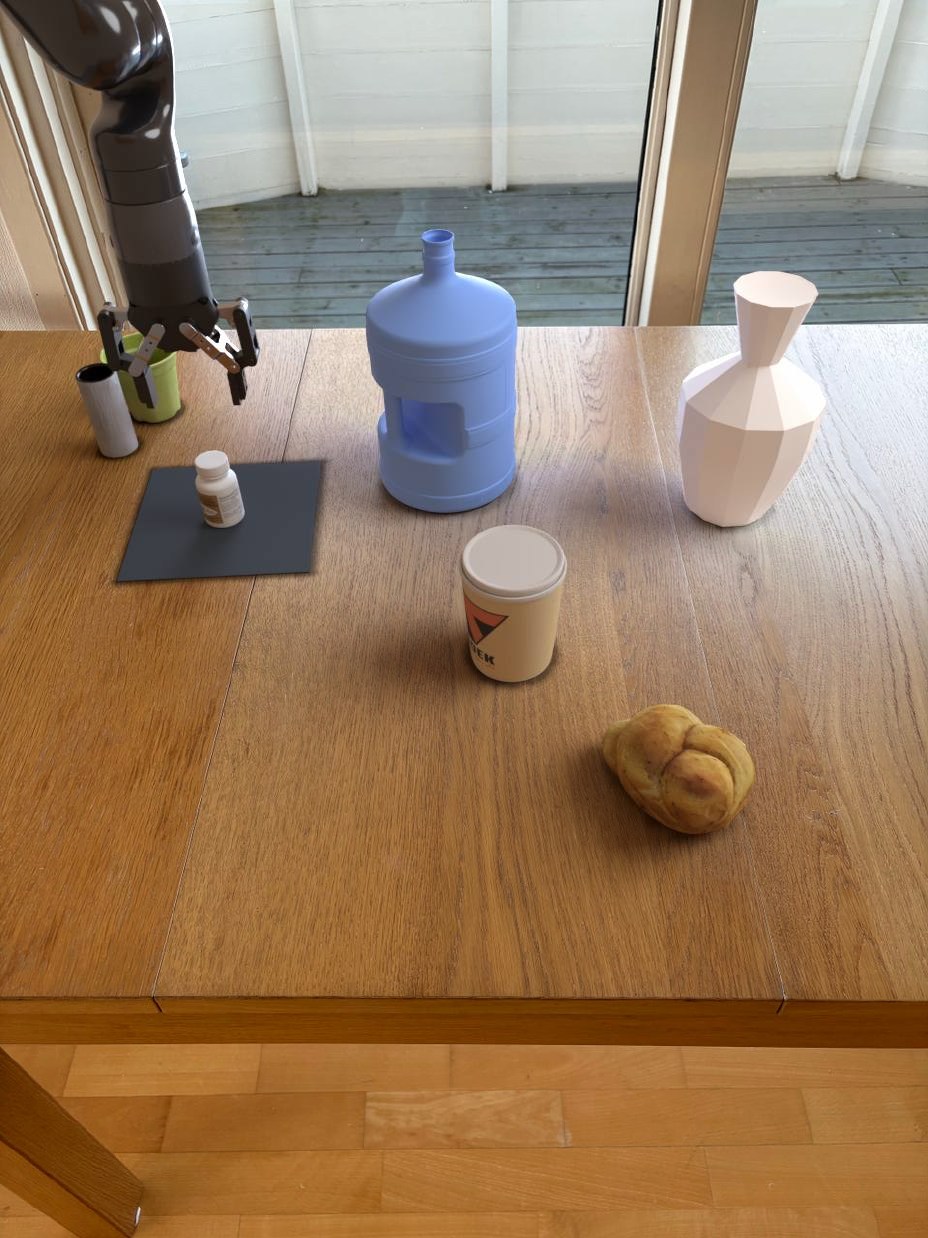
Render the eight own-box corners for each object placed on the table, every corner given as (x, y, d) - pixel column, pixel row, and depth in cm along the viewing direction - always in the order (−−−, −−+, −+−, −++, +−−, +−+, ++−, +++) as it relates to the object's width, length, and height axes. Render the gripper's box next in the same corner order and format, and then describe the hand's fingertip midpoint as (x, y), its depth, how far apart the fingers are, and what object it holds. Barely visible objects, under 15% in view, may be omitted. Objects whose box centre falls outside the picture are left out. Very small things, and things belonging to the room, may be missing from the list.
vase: (692, 554, 99) (734, 333, 82) (646, 476, 109) (674, 265, 92) (818, 534, 101) (885, 314, 84) (761, 459, 111) (811, 249, 94)
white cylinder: (103, 461, 114) (77, 385, 107) (98, 442, 117) (72, 367, 110) (141, 452, 115) (118, 376, 108) (135, 433, 118) (111, 358, 111)
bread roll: (575, 766, 80) (581, 705, 75) (654, 710, 84) (665, 647, 79) (691, 870, 73) (708, 810, 67) (772, 802, 77) (793, 741, 72)
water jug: (466, 423, 118) (461, 192, 99) (542, 485, 109) (552, 242, 89) (356, 465, 112) (327, 228, 93) (426, 534, 103) (409, 286, 83)
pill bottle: (197, 516, 106) (181, 459, 100) (231, 500, 108) (217, 442, 103) (218, 534, 104) (203, 476, 98) (252, 517, 106) (239, 459, 100)
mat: (117, 581, 98) (116, 581, 98) (153, 469, 113) (152, 468, 113) (309, 572, 99) (309, 571, 99) (321, 461, 113) (321, 460, 113)
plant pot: (132, 439, 117) (112, 377, 111) (109, 405, 123) (89, 344, 117) (204, 416, 121) (188, 354, 115) (178, 384, 127) (162, 324, 121)
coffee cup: (447, 634, 92) (442, 538, 83) (535, 607, 94) (539, 511, 86) (485, 701, 86) (483, 605, 77) (578, 671, 88) (586, 574, 80)
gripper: (243, 223, 87) (270, 381, 98) (86, 228, 87) (132, 386, 98) (232, 257, 82) (262, 421, 93) (65, 263, 81) (116, 426, 93)
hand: (195, 403), depth 95 cm, fingers open, 8 cm apart
